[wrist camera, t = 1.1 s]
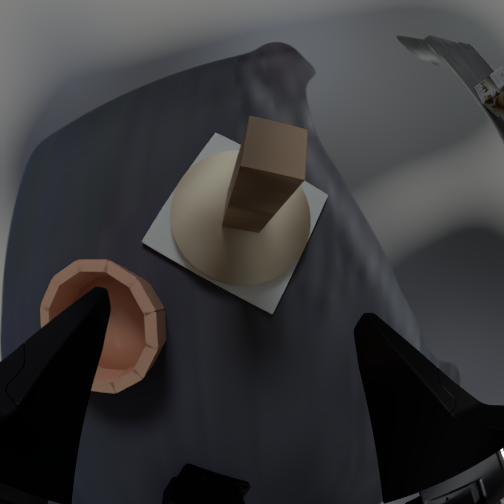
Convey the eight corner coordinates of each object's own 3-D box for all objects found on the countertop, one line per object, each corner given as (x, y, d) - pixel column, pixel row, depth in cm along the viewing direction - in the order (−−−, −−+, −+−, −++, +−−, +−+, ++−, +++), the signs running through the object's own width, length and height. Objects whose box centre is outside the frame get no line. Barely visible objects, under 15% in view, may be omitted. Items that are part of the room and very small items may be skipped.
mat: (326, 196, 25) (328, 195, 25) (271, 314, 22) (272, 314, 22) (215, 134, 24) (215, 132, 24) (142, 242, 21) (141, 241, 21)
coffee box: (482, 104, 41) (519, 76, 25) (473, 87, 42) (507, 58, 26) (497, 118, 42) (533, 94, 27) (489, 101, 43) (522, 76, 28)
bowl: (185, 303, 21) (181, 304, 17) (138, 395, 19) (125, 415, 14) (95, 248, 20) (74, 236, 16) (53, 337, 18) (26, 343, 14)
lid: (310, 170, 25) (369, 100, 14) (300, 294, 22) (379, 285, 12) (187, 145, 23) (187, 54, 12) (158, 272, 21) (121, 244, 10)
